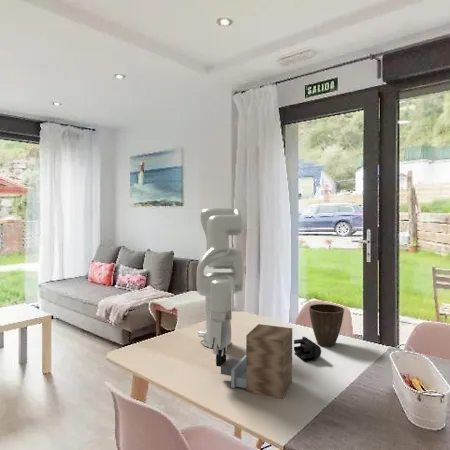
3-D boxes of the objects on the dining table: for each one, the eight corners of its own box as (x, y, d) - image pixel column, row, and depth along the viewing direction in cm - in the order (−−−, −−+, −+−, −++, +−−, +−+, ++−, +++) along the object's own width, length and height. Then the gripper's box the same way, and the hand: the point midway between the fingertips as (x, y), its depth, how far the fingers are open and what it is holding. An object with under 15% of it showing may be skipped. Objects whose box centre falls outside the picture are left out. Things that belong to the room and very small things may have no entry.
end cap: (321, 360, 148) (321, 344, 148) (305, 363, 146) (305, 345, 146) (308, 351, 157) (308, 335, 157) (293, 353, 155) (293, 337, 155)
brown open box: (246, 391, 123) (246, 335, 122) (258, 375, 135) (258, 324, 134) (282, 398, 118) (283, 340, 118) (292, 381, 130) (292, 328, 130)
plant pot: (304, 338, 173) (304, 304, 172) (335, 337, 174) (336, 303, 174) (315, 350, 158) (315, 313, 158) (349, 349, 160) (349, 312, 159)
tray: (217, 384, 127) (217, 367, 126) (232, 368, 139) (232, 352, 139) (267, 394, 120) (267, 376, 120) (278, 377, 132) (278, 360, 132)
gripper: (219, 308, 141) (219, 356, 142) (201, 319, 127) (202, 372, 128) (238, 310, 138) (238, 359, 139) (222, 321, 124) (222, 376, 125)
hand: (221, 365), depth 133 cm, fingers closed
